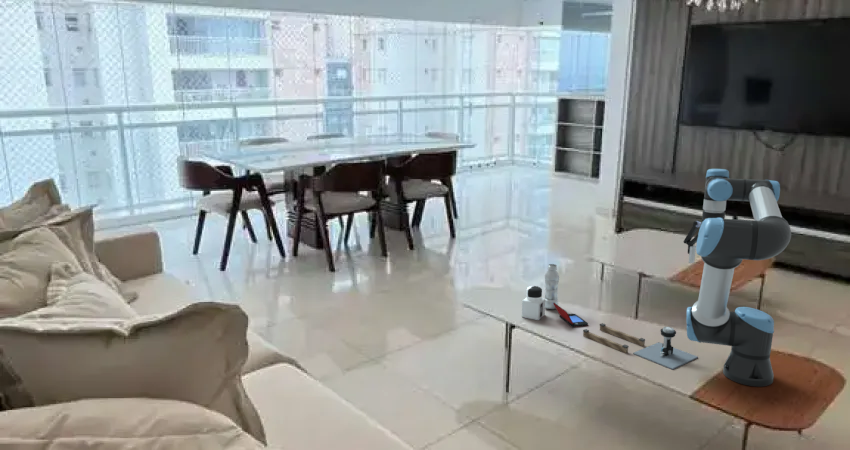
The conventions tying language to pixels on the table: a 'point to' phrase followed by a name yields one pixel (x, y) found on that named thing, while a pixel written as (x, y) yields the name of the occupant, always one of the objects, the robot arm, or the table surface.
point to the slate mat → (667, 361)
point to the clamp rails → (616, 333)
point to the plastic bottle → (551, 286)
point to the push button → (667, 340)
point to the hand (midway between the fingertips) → (708, 266)
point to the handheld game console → (570, 318)
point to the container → (533, 303)
